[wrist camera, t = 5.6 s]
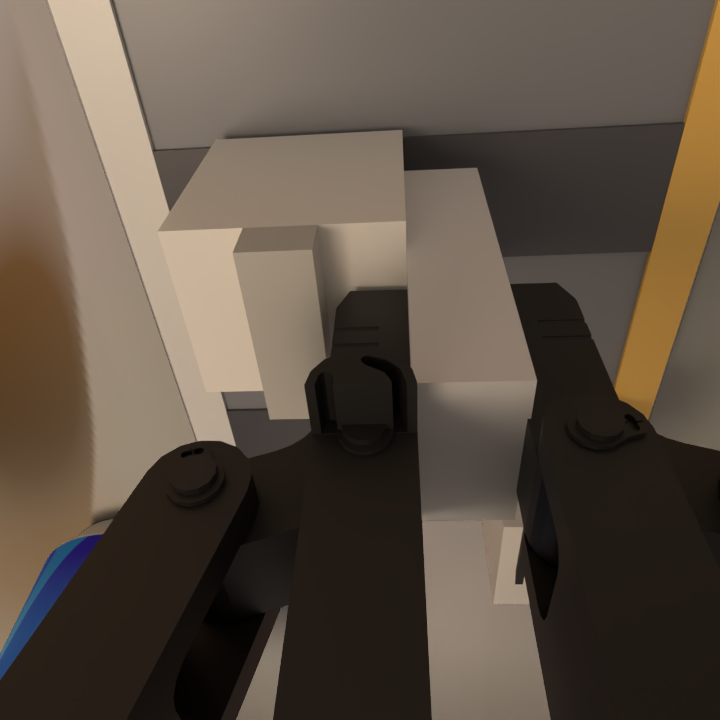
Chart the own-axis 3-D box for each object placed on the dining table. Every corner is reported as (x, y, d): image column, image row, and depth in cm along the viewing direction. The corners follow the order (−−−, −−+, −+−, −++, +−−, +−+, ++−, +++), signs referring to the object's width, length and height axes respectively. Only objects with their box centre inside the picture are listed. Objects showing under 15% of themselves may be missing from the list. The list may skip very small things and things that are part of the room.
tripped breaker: (245, 279, 15) (196, 420, 11) (215, 139, 13) (141, 256, 9) (405, 273, 15) (409, 416, 11) (402, 129, 13) (407, 245, 9)
